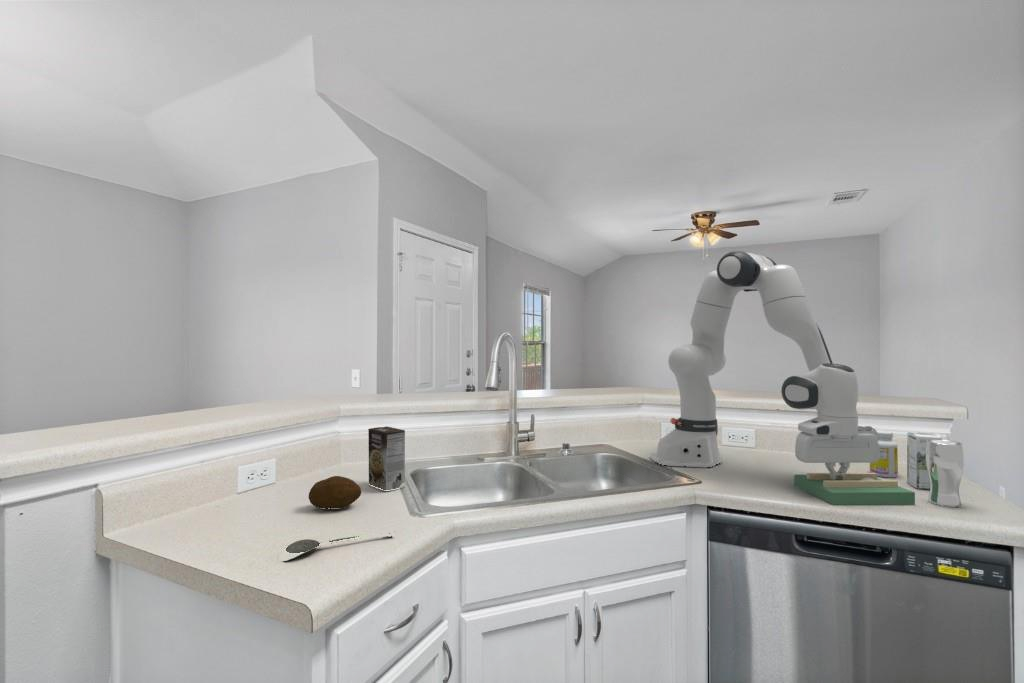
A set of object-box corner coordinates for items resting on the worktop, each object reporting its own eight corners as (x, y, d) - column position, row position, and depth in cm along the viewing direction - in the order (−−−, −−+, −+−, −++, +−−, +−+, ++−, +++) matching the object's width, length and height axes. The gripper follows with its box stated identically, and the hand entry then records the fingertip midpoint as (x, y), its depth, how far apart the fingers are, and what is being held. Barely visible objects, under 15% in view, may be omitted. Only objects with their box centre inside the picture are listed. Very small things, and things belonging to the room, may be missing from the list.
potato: (311, 504, 120) (311, 473, 121) (363, 500, 123) (363, 470, 123) (304, 515, 113) (304, 482, 113) (360, 511, 115) (360, 479, 115)
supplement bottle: (887, 472, 146) (887, 429, 146) (903, 478, 140) (903, 434, 140) (864, 472, 147) (864, 429, 147) (878, 478, 141) (878, 433, 141)
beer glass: (967, 510, 114) (967, 446, 114) (928, 504, 117) (928, 443, 117) (959, 501, 120) (959, 441, 120) (923, 497, 123) (922, 438, 123)
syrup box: (931, 485, 133) (931, 432, 133) (943, 491, 128) (942, 436, 128) (906, 483, 135) (906, 431, 135) (916, 489, 130) (916, 435, 130)
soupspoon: (276, 556, 94) (276, 572, 88) (276, 539, 93) (275, 554, 88) (391, 532, 103) (398, 545, 97) (391, 517, 103) (397, 529, 97)
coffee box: (367, 486, 135) (367, 428, 136) (387, 481, 140) (387, 425, 140) (385, 493, 129) (385, 432, 129) (405, 487, 134) (405, 429, 134)
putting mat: (832, 504, 118) (832, 486, 118) (794, 485, 134) (794, 469, 134) (915, 504, 118) (914, 486, 118) (867, 485, 134) (867, 468, 134)
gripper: (868, 424, 129) (867, 475, 129) (791, 424, 129) (791, 475, 129) (886, 428, 123) (886, 482, 123) (806, 428, 123) (806, 482, 123)
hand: (837, 479), depth 126 cm, fingers closed
